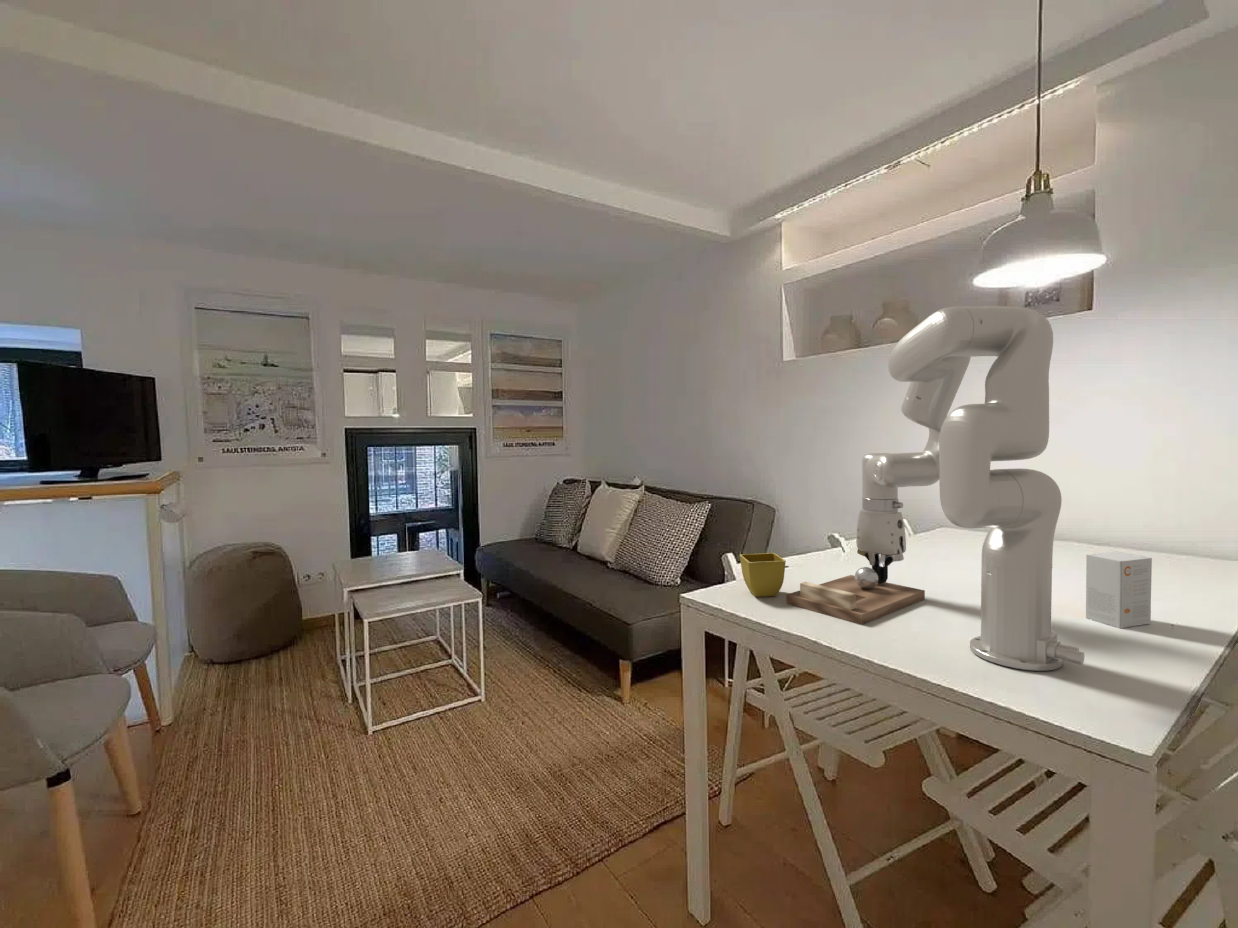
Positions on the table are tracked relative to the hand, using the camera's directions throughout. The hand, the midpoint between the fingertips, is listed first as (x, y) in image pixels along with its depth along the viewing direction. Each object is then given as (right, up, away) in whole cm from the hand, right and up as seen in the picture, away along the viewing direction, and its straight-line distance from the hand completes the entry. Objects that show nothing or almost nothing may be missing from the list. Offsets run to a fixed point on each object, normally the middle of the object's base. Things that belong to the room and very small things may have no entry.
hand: (879, 581), depth 128 cm
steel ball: (-5, +2, -3) cm, 6 cm away
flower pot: (-28, -3, +1) cm, 28 cm away
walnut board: (-8, -3, -6) cm, 11 cm away
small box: (+36, -3, -22) cm, 42 cm away
